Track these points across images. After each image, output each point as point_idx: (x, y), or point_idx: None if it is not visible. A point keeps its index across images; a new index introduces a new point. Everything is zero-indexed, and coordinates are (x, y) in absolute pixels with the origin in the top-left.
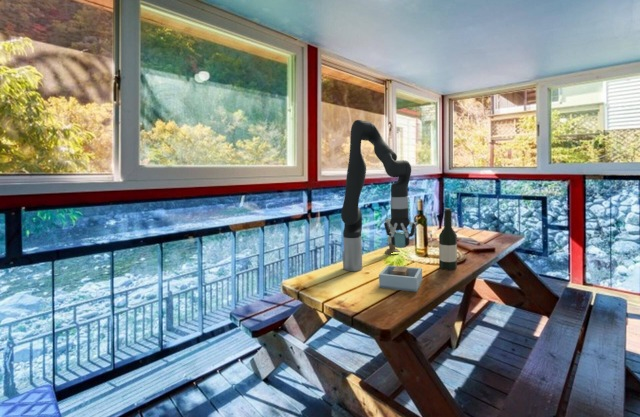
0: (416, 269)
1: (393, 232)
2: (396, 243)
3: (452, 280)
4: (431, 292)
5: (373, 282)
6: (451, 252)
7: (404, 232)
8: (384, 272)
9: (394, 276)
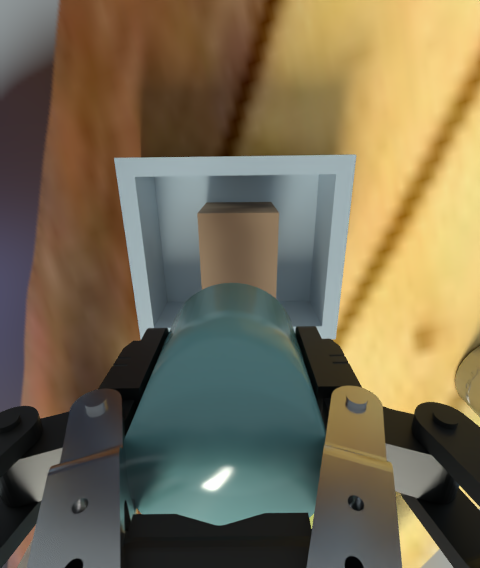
0: (167, 325)
1: (353, 452)
2: (267, 311)
3: (46, 350)
4: (77, 178)
5: (374, 222)
6: None
7: (106, 451)
8: (329, 224)
9: (253, 156)
